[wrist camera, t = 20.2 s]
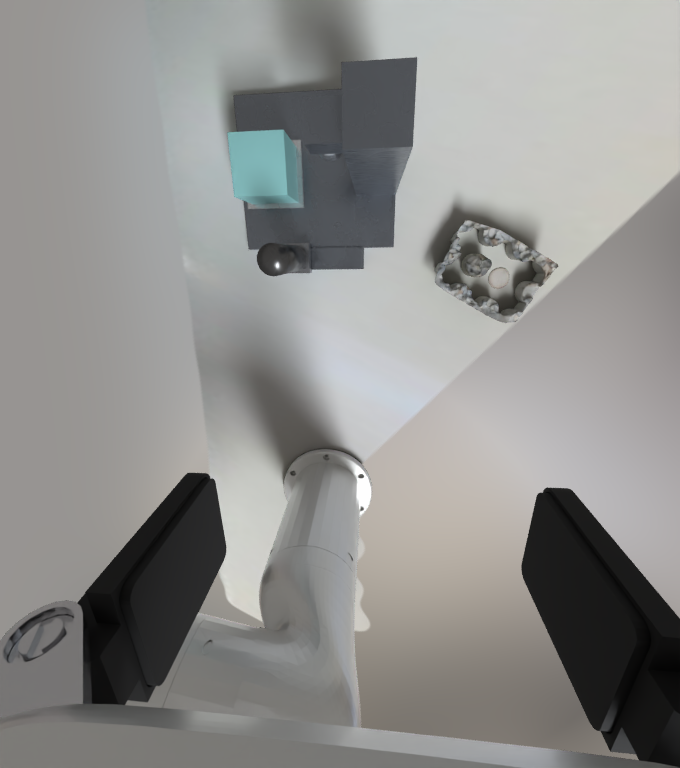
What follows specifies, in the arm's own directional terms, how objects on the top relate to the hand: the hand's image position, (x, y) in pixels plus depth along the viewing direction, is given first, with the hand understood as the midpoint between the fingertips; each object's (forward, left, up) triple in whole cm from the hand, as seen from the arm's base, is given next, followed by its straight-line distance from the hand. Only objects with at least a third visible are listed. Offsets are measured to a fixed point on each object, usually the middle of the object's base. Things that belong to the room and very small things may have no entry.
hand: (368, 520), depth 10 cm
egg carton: (+5, -12, -34) cm, 36 cm away
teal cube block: (+15, +10, -32) cm, 37 cm away
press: (+14, +6, -33) cm, 37 cm away
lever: (+7, +8, -32) cm, 34 cm away
